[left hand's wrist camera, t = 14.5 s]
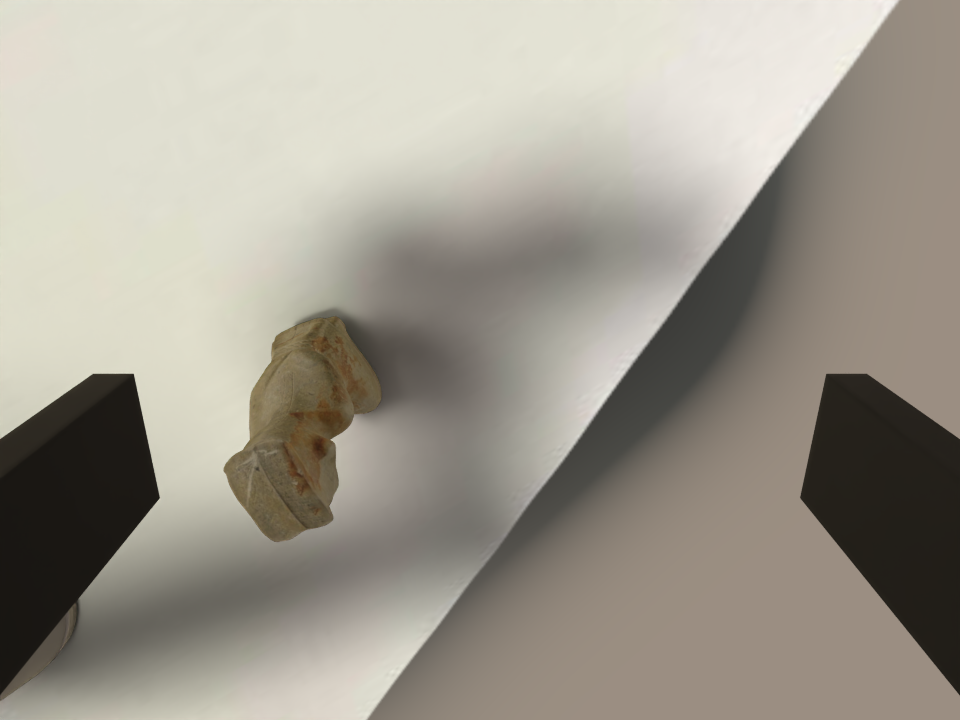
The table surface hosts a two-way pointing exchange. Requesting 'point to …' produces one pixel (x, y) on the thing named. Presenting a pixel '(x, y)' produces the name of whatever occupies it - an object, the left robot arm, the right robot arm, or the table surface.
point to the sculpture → (300, 427)
